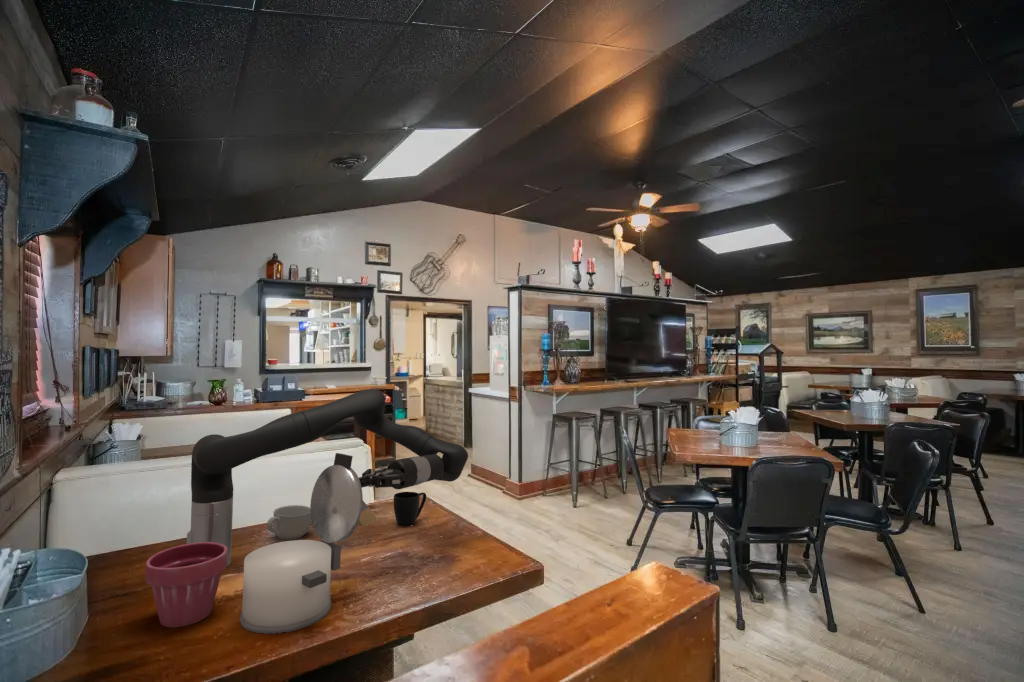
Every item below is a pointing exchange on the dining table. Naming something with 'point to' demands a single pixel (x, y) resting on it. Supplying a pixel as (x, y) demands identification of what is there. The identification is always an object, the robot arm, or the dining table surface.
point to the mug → (407, 507)
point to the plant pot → (186, 581)
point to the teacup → (290, 521)
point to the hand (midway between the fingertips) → (353, 484)
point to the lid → (336, 501)
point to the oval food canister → (288, 585)
